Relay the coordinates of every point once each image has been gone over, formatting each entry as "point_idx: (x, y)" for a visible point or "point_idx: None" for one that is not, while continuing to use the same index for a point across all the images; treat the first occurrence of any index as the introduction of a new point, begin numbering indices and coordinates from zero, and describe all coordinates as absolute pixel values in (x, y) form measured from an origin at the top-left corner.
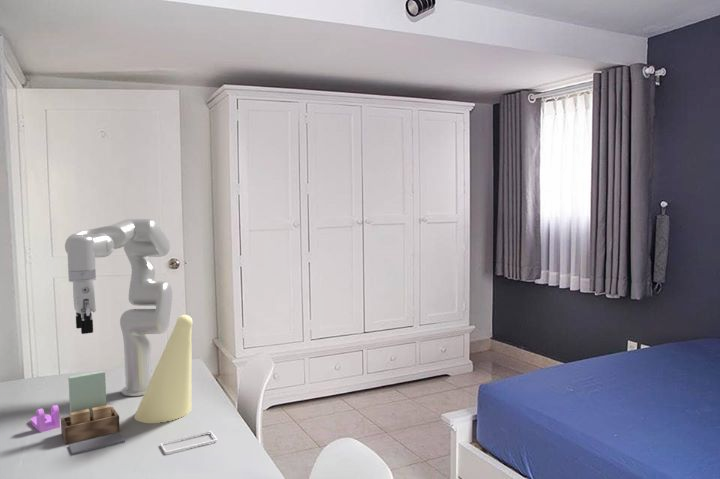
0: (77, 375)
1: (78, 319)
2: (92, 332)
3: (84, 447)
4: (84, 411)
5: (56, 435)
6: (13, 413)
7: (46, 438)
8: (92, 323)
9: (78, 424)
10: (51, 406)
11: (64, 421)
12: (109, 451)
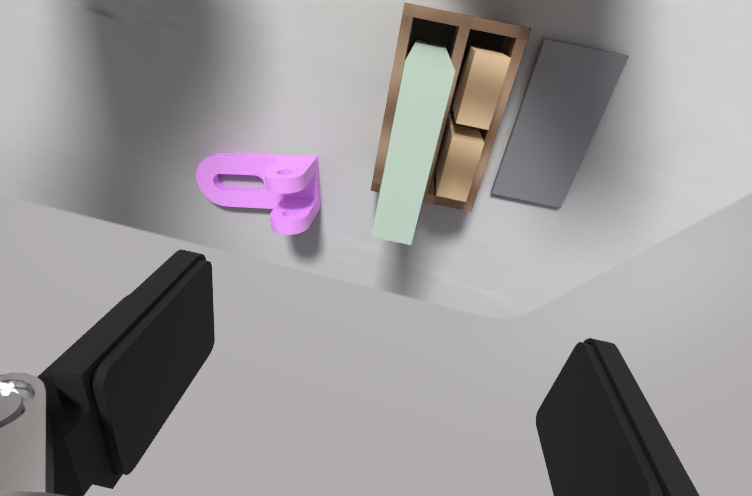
0: (390, 203)
1: (154, 421)
2: (606, 344)
3: (555, 171)
4: (468, 157)
5: None
6: (112, 208)
7: None
8: (667, 448)
9: (480, 173)
10: (271, 191)
11: None
12: (641, 124)
